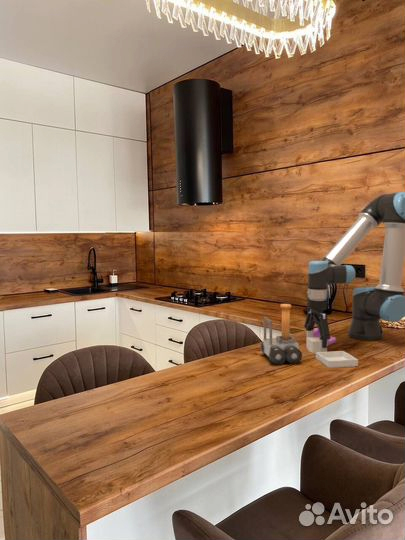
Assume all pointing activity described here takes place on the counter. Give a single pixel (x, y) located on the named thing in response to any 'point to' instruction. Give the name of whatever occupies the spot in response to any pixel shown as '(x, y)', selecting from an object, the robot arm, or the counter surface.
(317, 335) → the bracket
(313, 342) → the off-white matte cube
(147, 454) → the counter surface
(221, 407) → the counter surface
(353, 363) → the tray
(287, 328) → the pin
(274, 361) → the trolley
